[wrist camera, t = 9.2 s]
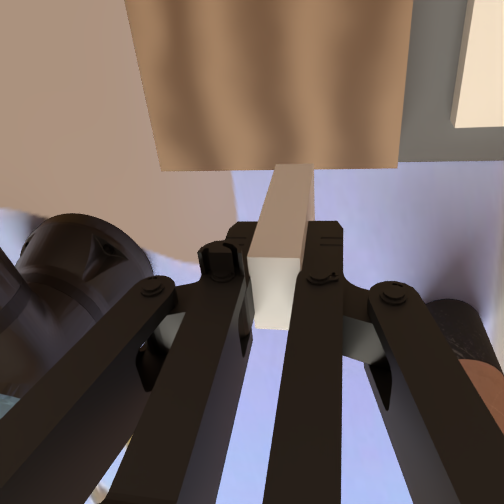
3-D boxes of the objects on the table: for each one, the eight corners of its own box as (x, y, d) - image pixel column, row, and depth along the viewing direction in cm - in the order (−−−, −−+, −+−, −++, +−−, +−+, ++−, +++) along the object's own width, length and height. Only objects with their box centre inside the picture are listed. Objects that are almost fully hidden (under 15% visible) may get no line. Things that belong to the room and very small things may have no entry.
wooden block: (175, 154, 43) (161, 171, 40) (142, -16, 35) (121, -12, 32) (393, 149, 39) (397, 168, 36) (409, -42, 31) (417, -41, 28)
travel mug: (408, 349, 52) (437, 535, 36) (406, 299, 48) (436, 481, 32) (481, 347, 50) (546, 543, 33) (484, 294, 46) (560, 487, 30)
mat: (392, 160, 40) (392, 162, 39) (411, -60, 31) (412, -60, 30) (542, 157, 37) (543, 159, 37) (609, -81, 28) (612, -81, 28)
